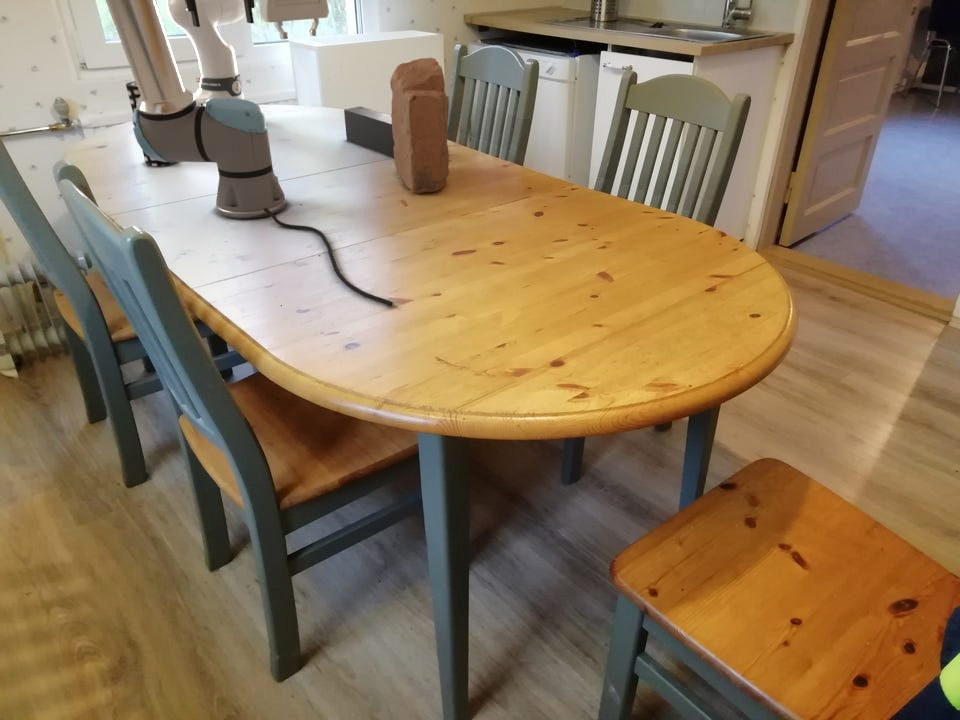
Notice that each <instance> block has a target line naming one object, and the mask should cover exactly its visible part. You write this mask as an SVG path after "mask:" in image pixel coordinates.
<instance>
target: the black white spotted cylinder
mask: <svg viewBox="0 0 960 720" xmlns="http://www.w3.org/2000/svg"><path fill="white" fill-rule="evenodd" d="M125 87H126V91H127V95H128V99H129V103H130V107H131V110H132V114H133V113H134V111H135V109H136V108H137V106H136V103H137V101H138V99H139V98H140V96H141V95H140V92H139V89H138V87H137V84H136V81H135V80H134V81H130V82H129V81H128V82H127V83H126V84H125ZM141 150H142V149H141ZM142 155H143V158H144V163H145V164H146V165H147V166H151V167H164V166H170V165H174V164H176V163H177V162H168V161H158V160H155V159H153V158H151V157H149V156H148V155H147V154H146V153H145V152H144V151H143V150H142Z"/></svg>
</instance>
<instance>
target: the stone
mask: <svg viewBox="0 0 960 720" xmlns="http://www.w3.org/2000/svg"><path fill="white" fill-rule="evenodd" d="M389 83H390V89H391V93H392V97H391V113H390V115H391V120H392V132H393V139H394V142H395V145H394V148H393V149H394V158H393V159H394V166H395V170H396V172H397V173H398V175H399V177H400V178H401V180H402V181H403V183H404V184H405V186H406V187H407V188H408V189H410V191H411V192H412V193H413V194H423V193H431V192H434V193H435V192H437V191H439V190H440V189H441V188H443V187H446V185H447V182H448V181H447V179H448V177H449V175H450V173H449V172H450V169H449V166H450V162H449V161H450V154H449V146H448V127H449V110H450V102H449V101H450V99H449V96H448V95H447V94H446V91H445V90H446V83H445V75H444V72H443V68H442V66H441V65H440V64H439V61H437V59H436V58H434V57H421V58H418V59H413V60H411V61H409V62H402V63H399V64H398V65H396V68H395V69H394V71H393V73H392V74H391V77H390V82H389Z"/></svg>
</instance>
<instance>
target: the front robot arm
mask: <svg viewBox="0 0 960 720" xmlns="http://www.w3.org/2000/svg"><path fill="white" fill-rule="evenodd" d="M105 3H106V5H107V8H108V10H109V13H110V16H111V19H112V22H113V25H114V27H115V29H116V32H117V35H118V39H119V40H120V43H121V46H122V49H123V52H124V54H125V57H126V60H127V62H128V65H129V67H130V70H131V73H132V77H133V78H134V81H136V84H137V87H138V89H139V92H140V95H141V96H140V98H139V99H138V101H137V103H136V106H137V108H136V109H135V111H134V113H133V112H132V120H131V121H132V122H131V123H132V125H133V128H132V130H133V134H134V136H135V139H136V142H137V144H138V145H139V148H140V149H141V150H143V151H144V152H145V153H146V154H147V155H148V156H149V157H151V158H153V159H155V160H158V161H168V162H176V163H178V162H179V163H216V167H217V169H218V170H217V172H218V185H217V193H216V201H215V206H216V210H217V213H218V214H219V215H221V216H223V217H225V218H229V219H236V220H253V219H260V218H261V219H262V218H265V217H266V218H267V217H271V219H272V220H273V221H274V222H275V223H276V224H277V225H279V226H281V227H283V228H287V229H294V230H295V229H296V230H306V231H311V232H313V233H315V234H317V235H318V236H320V238H321V239H322V242H323V243H324V245H325V247H326V249H327V253H328V256H329V258H330V262H331V265H332V268H333V271H334V273H335V274H336V276H337V277H338V278H339V279H340V281H341V282H342V283H343V284H344V285H345V286H346V287H348V288H349V289H351V291H353V292H355V293H356V294H359V295H361V296H362V297H365V298H366V299H367V298H368V299H370V300H372V301H374V302H375V301H376V302H378V303H382V304H385V305H387V306H389V307H392V306H393V305H394V303H393V301H391V300H388V299H386V298H383V297H380V296H377V295H373V294H371V293H368V292H367V291H363V290H362V289H360V288H358V287H356V286H355V285H354V284H352V283H351V282H349V280H347V279H346V278H345V276H344V275H343V274H342V273H341V271H340V269H339V268H338V264H337V262H336V259H335V256H334V253H333V249H332V246H331V245H330V243H329V241H328V239H327V237H326V236H325V234H324V233H323V232H322V231H321V230H319V229H317V228H315V227H312V226H309V225H301V224H299V225H298V224H289V223H285V222H283V221H280V220H279V219H278V217H277V216H276V214H278V213H280V212H282V211H283V210H285V209H286V207H287V199H286V194H285V193H284V191H283V189H282V187H281V184H280V182H279V178H278V176H277V175H275V172H274V167H273V160H272V154H271V147H270V140H269V133H268V131H269V130H268V124H267V123H266V118H265V113H264V110H263V109H262V107H261V106H260V105H259V104H257V103H256V102H253V101H251V100H249V99H248V100H247V99H245V100H243V99H237V98H213V99H210V100H208V101H207V102H206V105H205V106H198V105H197V103H196V100H195V97H194V93H193V92H192V91H191V90H189V89H187V88H186V87H184V84H183V81H182V77H181V75H180V71H179V69H178V65H177V63H176V62H177V61H176V59H175V56H174V54H173V50H172V47H171V44H170V41H169V37H168V34H167V31H166V27H165V25H164V21H163V18H162V15H161V11H160V9H159V6H158V3H157V0H105ZM185 5H186V9H187V11H189V12H191V15H192V21H193V26H195V27H200V23H199V18H198V12H197V7H196V2H195V0H185ZM244 6H245V12H246V14H245V18H246V23H248V24H251V25H252V24H255V21H254V14H253V9H255V8H256V5H255V0H244ZM143 151H142V152H143Z"/></svg>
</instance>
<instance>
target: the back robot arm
mask: <svg viewBox="0 0 960 720" xmlns="http://www.w3.org/2000/svg"><path fill="white" fill-rule="evenodd" d="M195 2H196V7H197V12H198V18H199V23H200V27H195V26H193V21H192V15H191V12H189V11H187V9H186V5H185V0H166V11H167V14H168V16H169V18H170V20H171V21H172V22H173V23H174V24H175V25H176V26H177V27H179V28H180V29H181V30H183V32H184V33H185V34H186V36H187V37H188V38H189V39H190V41H191V43H192V45H193V47H194V50H195V52H196V56H197V60H198V65H199V70H200V74H201V76H199V77H196V78H195V80H196V83H199V88H198V89H197V91H196V92H195V93H193V95H194V97H195V100H196V103H197V105H198V106H205V105H206V102H207V101H208V100H210V99H213V98H237V99H243V100H246V99H245V96H244V92H243V84H242V77H241V74H240V72H239V68H238V63H237V56H236V50H235V48H234V46H233V45H232V44H231V43H229V42H228V41H226V40H225V39H223V38H222V35H220V33H219V30H218V27H219V26H221V27H222V26H228V25H232V24H235V23H237V22H239V21H241V20H242V19H244V18H245V17H246V12H245V6H244V0H195ZM258 2H259V13H260V18H261V20H263V21H264V22H265V23H269V24H271V23H273V25H274V27H275V28H276V30H277V32H278V33H279V39H280V40H288V39H289V36H288V31H285V30H284V29H283V26H284V24H283V22H294V21H304V20H310V23H311V26H310V28H309V29H308V28H307V29H308V35H309V37H317V35H318V34H317V29H318V26H319V23H320V21H319V19H327V18H328V17H329V14H330V9H329V2H328V0H258Z"/></svg>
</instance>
